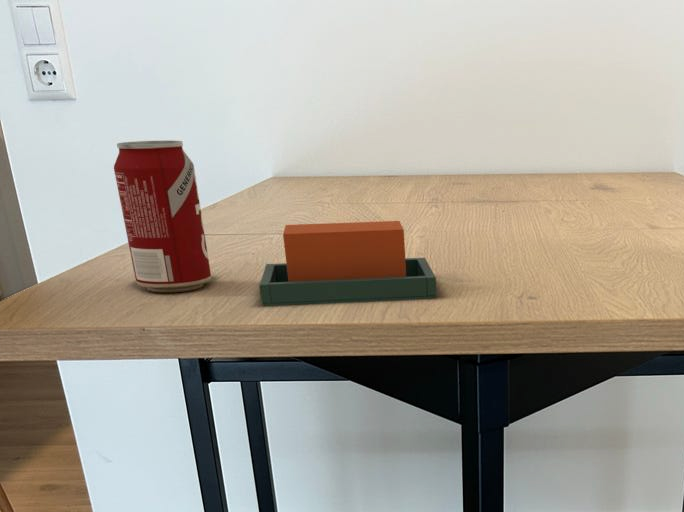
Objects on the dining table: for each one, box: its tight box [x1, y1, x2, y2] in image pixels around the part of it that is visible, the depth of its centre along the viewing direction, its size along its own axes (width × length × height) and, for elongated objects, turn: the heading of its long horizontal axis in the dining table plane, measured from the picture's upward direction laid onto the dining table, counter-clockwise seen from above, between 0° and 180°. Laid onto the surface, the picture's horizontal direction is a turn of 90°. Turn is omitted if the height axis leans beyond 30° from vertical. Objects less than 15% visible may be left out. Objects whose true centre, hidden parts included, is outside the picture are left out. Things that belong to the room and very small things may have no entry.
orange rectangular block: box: [282, 220, 406, 282], centre depth 81 cm, size 10×6×5 cm, turn 98°
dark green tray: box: [258, 257, 437, 307], centre depth 82 cm, size 15×10×2 cm
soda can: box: [113, 140, 212, 294], centre depth 84 cm, size 7×7×12 cm
